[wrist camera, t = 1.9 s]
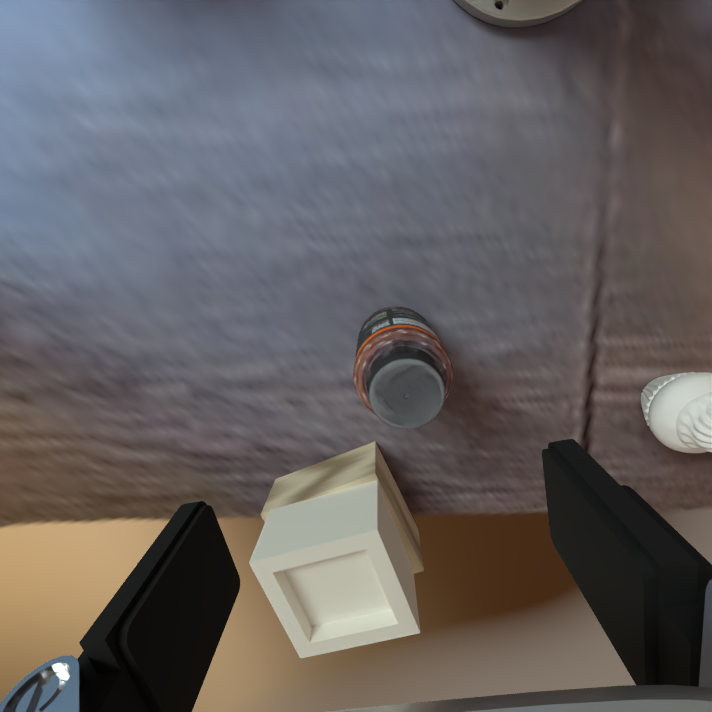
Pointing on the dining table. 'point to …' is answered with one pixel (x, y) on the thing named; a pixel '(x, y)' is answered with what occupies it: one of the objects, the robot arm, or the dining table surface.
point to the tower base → (346, 474)
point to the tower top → (337, 571)
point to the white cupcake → (680, 411)
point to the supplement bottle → (401, 368)
